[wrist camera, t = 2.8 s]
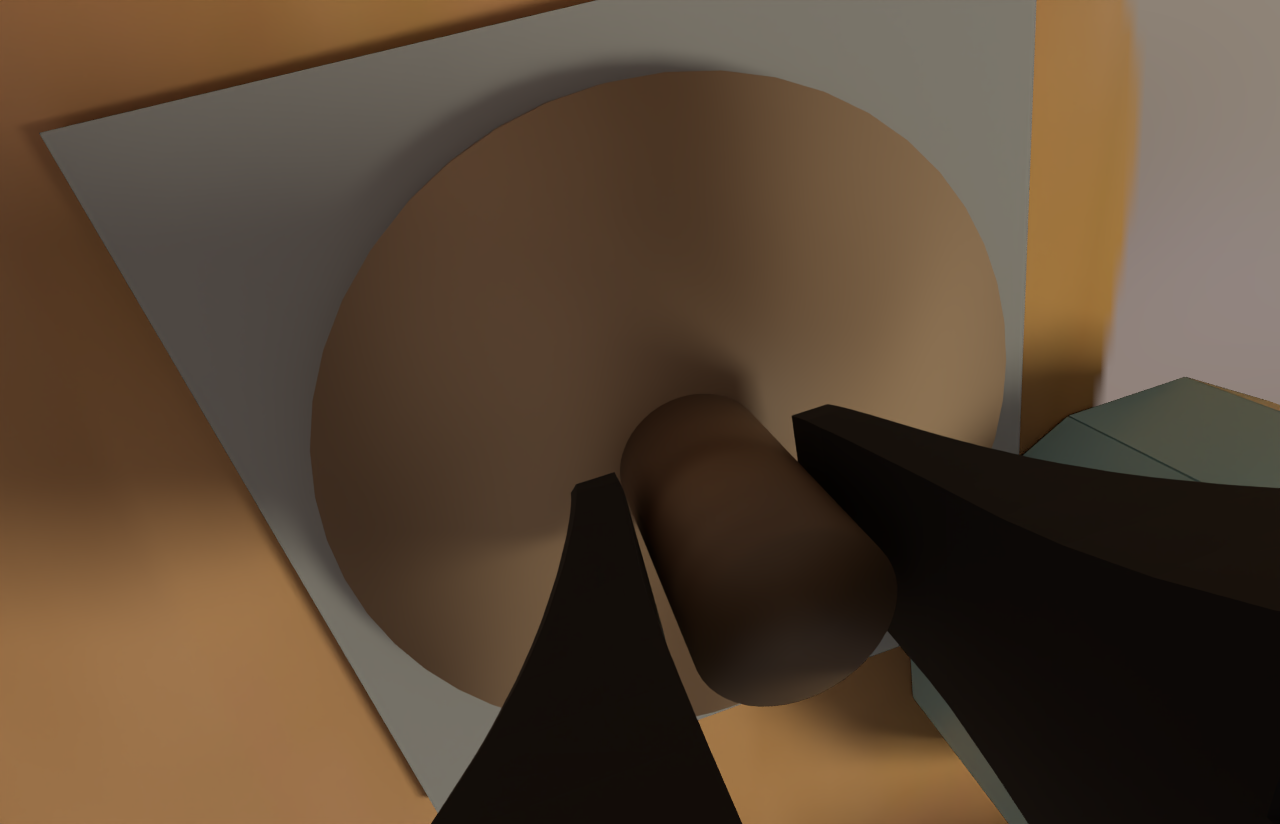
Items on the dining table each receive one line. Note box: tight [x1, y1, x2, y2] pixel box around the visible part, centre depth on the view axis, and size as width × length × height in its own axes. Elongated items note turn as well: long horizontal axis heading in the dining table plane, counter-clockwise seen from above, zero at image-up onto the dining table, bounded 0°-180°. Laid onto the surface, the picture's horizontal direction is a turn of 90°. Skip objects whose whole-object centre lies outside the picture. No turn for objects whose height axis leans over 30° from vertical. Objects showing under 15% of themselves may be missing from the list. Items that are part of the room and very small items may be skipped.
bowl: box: [911, 377, 1280, 824], centre depth 15 cm, size 11×11×4 cm
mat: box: [39, 0, 1036, 813], centre depth 12 cm, size 14×14×1 cm
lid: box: [310, 70, 1006, 716], centre depth 10 cm, size 12×12×5 cm
